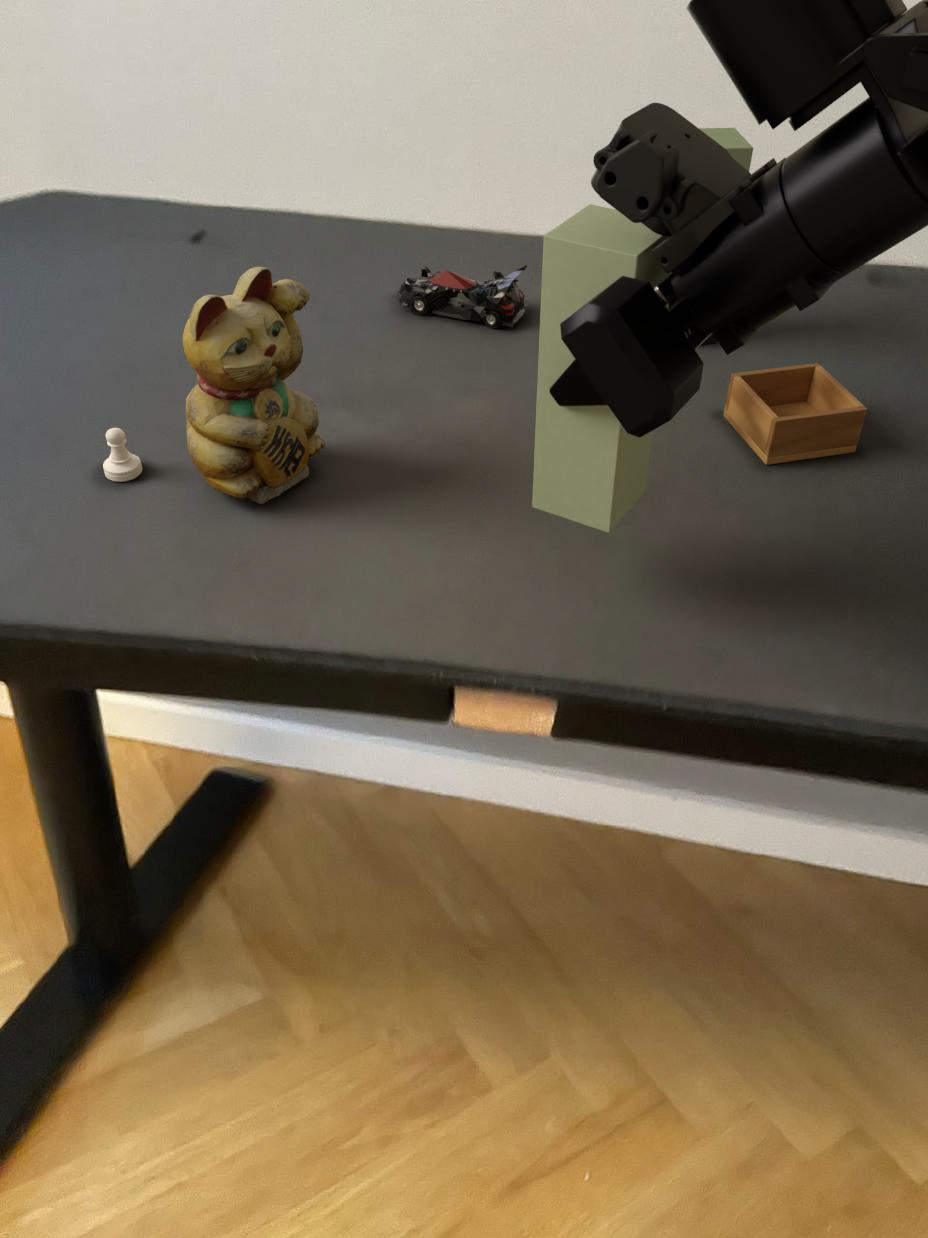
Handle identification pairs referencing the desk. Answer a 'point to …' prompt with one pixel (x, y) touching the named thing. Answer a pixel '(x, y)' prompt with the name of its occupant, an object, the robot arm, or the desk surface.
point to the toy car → (466, 296)
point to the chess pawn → (120, 458)
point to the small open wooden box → (794, 413)
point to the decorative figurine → (249, 389)
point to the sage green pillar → (573, 435)
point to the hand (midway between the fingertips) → (578, 377)
